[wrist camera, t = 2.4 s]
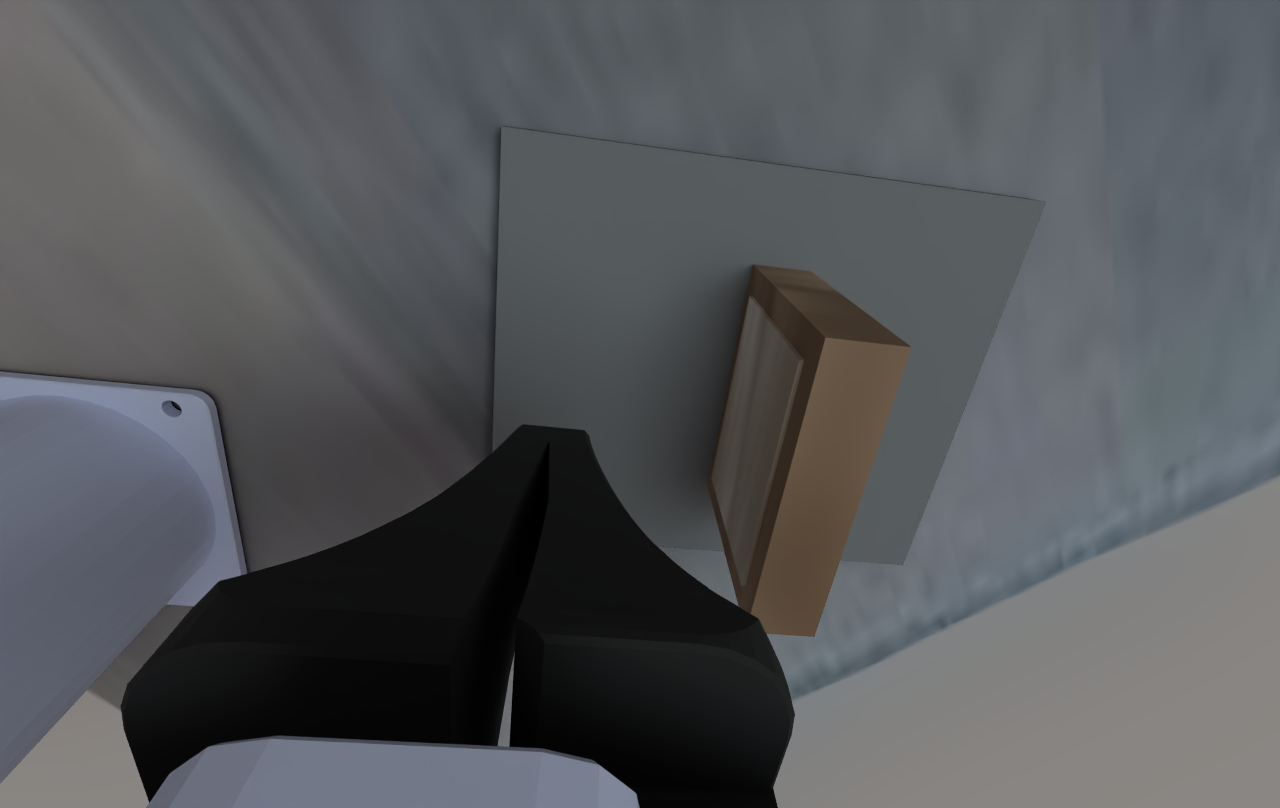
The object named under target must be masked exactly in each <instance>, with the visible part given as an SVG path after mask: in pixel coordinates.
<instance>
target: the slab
mask: <svg viewBox="0 0 1280 808" xmlns="http://www.w3.org/2000/svg"><path fill="white" fill-rule="evenodd" d="M911 349H912V347H911V346H910V345H908V344H907V343H906V342H904V341H903V340H902V339H900V338H899V337H898V336H896V335H895V334H894V333H892V332H891V331H890V330H888V329H887V328H886V327H884V326H883V325H882V324H880V323H879V322H878V321H876V320H875V319H874V318H872V317H871V316H870V315H868V314H867V313H866V312H864V311H863V310H862V309H860V308H859V307H858V306H856V305H855V304H854V303H852V302H851V301H850V300H848V299H847V298H846V297H844V296H843V295H842V294H840V293H839V292H838V291H836V290H835V289H834V288H833V287H831V286H830V285H829V284H827V283H826V282H825V281H823V280H822V279H821V278H819V277H818V276H817V275H815V274H814V273H813V272H811V271H804V270H796V269H788V268H780V267H771V266H763V265H755V264H753V267H752V272H751V277H750V282H749V287H748V291H747V296H746V301H745V306H744V311H743V316H742V320H741V325H740V330H739V335H738V340H737V345H736V349H735V354H734V359H733V364H732V369H731V374H730V378H729V383H728V388H727V393H726V398H725V403H724V407H723V412H722V417H721V422H720V427H719V432H718V436H717V441H716V446H715V451H714V456H713V461H712V466H711V470H710V475H709V480H708V485H707V486H708V490H709V494H710V498H711V502H712V506H713V509H714V513H715V517H716V521H717V525H718V528H719V532H720V536H721V540H722V544H723V548H724V551H725V555H726V559H727V563H728V567H729V571H730V574H731V578H732V582H733V586H734V590H735V594H736V597H737V601H738V605H739V607H740V608H742V609H743V610H745V611H747V612H748V613H750V614H752V615H753V616H755V617H757V618H758V619H759V620H760V622H761V624H762V626H763V628H764V630H765V632H766V634H780V635H796V636H811V637H814V636H815V633H816V630H817V627H818V624H819V621H820V618H821V615H822V612H823V609H824V606H825V603H826V600H827V597H828V594H829V592H830V589H831V586H832V583H833V580H834V577H835V574H836V571H837V568H838V565H839V562H840V559H841V556H842V553H843V550H844V547H845V544H846V541H847V538H848V535H849V532H850V529H851V526H852V523H853V520H854V517H855V514H856V512H857V509H858V506H859V503H860V500H861V497H862V494H863V491H864V488H865V485H866V482H867V479H868V476H869V473H870V470H871V467H872V464H873V461H874V458H875V455H876V452H877V449H878V446H879V443H880V440H881V437H882V434H883V432H884V429H885V426H886V423H887V420H888V417H889V414H890V411H891V408H892V405H893V402H894V399H895V396H896V393H897V390H898V387H899V384H900V381H901V378H902V375H903V372H904V369H905V366H906V363H907V360H908V357H909V354H910V352H911Z"/></svg>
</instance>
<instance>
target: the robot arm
mask: <svg viewBox="0 0 1280 808" xmlns="http://www.w3.org/2000/svg"><path fill="white" fill-rule="evenodd" d="M171 401H173V402H176V403H177V404H178V405H179V406H180V408H181V410H182V411H180V410H177V409H176V408H175V407H173V405H172V403H171ZM165 605H182V606H194V607H193V608H192V609H191V610H190V611H189V613H188V614H187V615H186V616H185V617H184V618H183V620H182V621H181V622H180V623H179V624H178V626H177V627H176V628H175V629H174V630H173V632H172V633H171V634H170V635H169V636H168V637H167V639H166V640H165V641H164V642H163V643H162V644H161V646H160V647H159V648H158V649H157V650H156V651H155V653H154V654H153V655H152V656H151V657H150V658H149V660H148V661H147V662H146V663H145V664H144V665H143V667H142V668H141V669H140V670H139V671H138V672H137V674H136V675H135V676H134V677H133V678H132V680H131V681H130V682H129V683H128V684H127V687H126V691H125V694H124V697H123V700H122V704H121V712H122V719H123V726H124V731H125V734H126V737H127V740H128V743H129V746H130V748H131V751H132V754H133V757H134V760H135V763H136V766H137V769H138V771H139V774H140V777H141V780H142V783H143V786H144V788H145V791H146V794H147V797H148V800H149V804H148V806H147V807H146V808H778V807H777V803H776V799H775V794H774V790H773V786H774V783H775V781H776V777H777V775H778V772H779V769H780V766H781V763H782V760H783V758H784V755H785V752H786V749H787V746H788V743H789V740H790V737H791V735H792V729H793V722H794V716H795V713H794V709H793V706H792V701H791V696H790V692H789V688H788V685H787V682H786V679H785V676H784V673H783V670H782V667H781V665H780V663H779V661H778V658H777V656H776V654H775V652H774V649H773V647H772V645H771V643H770V641H769V639H768V637H767V634H766V632H765V630H764V628H763V626H762V624H761V622H760V620H759V619H758V618H757V617H755V616H753V615H752V614H750V613H748V612H747V611H745V610H743V609H742V608H740V607H738V606H737V605H735V604H733V603H732V602H730V601H728V600H726V599H725V598H723V597H721V596H720V595H718V594H716V593H715V592H713V591H712V590H710V589H709V588H708V587H706V586H705V585H703V584H702V583H701V582H699V581H698V580H697V579H695V578H694V577H692V576H691V575H690V574H688V573H687V572H686V571H685V570H683V569H682V568H681V567H680V566H678V565H677V564H676V563H675V562H674V561H672V560H671V559H670V558H669V557H668V556H667V555H666V554H665V553H664V552H663V551H662V550H660V549H659V548H658V547H657V546H656V545H655V544H654V543H653V542H652V541H651V540H650V539H649V538H648V537H647V536H646V534H645V533H644V532H643V531H642V530H641V528H640V527H639V526H638V525H637V524H636V522H635V521H634V520H633V519H632V517H631V516H630V515H629V513H628V512H627V510H626V509H625V508H624V506H623V505H622V503H621V502H620V500H619V499H618V497H617V496H616V494H615V492H614V491H613V489H612V487H611V486H610V484H609V482H608V480H607V478H606V476H605V475H604V473H603V471H602V469H601V467H600V465H599V463H598V460H597V458H596V456H595V453H594V451H593V448H592V445H591V441H590V436H589V435H588V433H587V432H586V431H585V430H579V429H568V428H558V427H548V426H537V425H527V424H522V425H521V426H520V427H518V428H517V429H516V430H515V431H514V432H513V433H512V434H511V435H510V436H509V437H508V438H507V439H506V440H505V441H504V442H503V443H502V444H501V445H500V446H499V447H498V448H497V449H495V450H494V451H493V452H492V453H491V454H490V455H489V456H488V457H487V458H485V459H484V460H483V461H482V462H481V463H480V464H479V465H477V466H476V467H475V468H474V469H473V470H471V471H470V472H469V473H468V474H466V475H465V476H464V477H462V478H461V479H460V480H459V481H457V482H456V483H455V484H453V485H452V486H451V487H449V488H448V489H447V490H445V491H444V492H442V493H441V494H439V495H438V496H436V497H435V498H433V499H432V500H430V501H428V502H427V503H425V504H423V505H421V506H420V507H418V508H416V509H415V510H413V511H411V512H409V513H407V514H406V515H404V516H402V517H400V518H397V519H395V520H393V521H391V522H389V523H387V524H385V525H383V526H381V527H379V528H376V529H374V530H372V531H370V532H368V533H366V534H364V535H362V536H359V537H357V538H354V539H352V540H349V541H347V542H344V543H342V544H339V545H337V546H334V547H332V548H329V549H326V550H323V551H320V552H317V553H315V554H312V555H309V556H306V557H303V558H300V559H297V560H294V561H290V562H287V563H283V564H280V565H276V566H273V567H269V568H266V569H262V570H258V571H255V572H251V573H248V574H247V569H246V564H245V558H244V553H243V548H242V542H241V537H240V532H239V526H238V521H237V516H236V510H235V505H234V500H233V494H232V489H231V484H230V478H229V473H228V468H227V462H226V457H225V452H224V446H223V441H222V436H221V430H220V425H219V420H218V414H217V409H216V406H215V403H214V401H213V400H212V399H211V398H210V396H209V395H207V394H205V393H204V392H201V391H198V390H192V389H181V388H171V387H160V386H149V385H139V384H128V383H117V382H107V381H96V380H86V379H75V378H64V377H54V376H43V375H33V374H22V373H11V372H1V371H0V783H1V782H2V781H3V780H4V779H5V778H6V777H7V776H8V775H9V774H10V772H11V771H12V770H13V769H14V768H15V767H16V766H17V765H18V764H19V763H20V762H21V761H22V759H23V758H24V757H25V756H26V755H27V754H28V753H29V752H30V751H31V750H32V749H33V747H35V745H36V744H37V743H38V742H39V741H40V740H41V739H42V738H43V736H45V734H46V733H47V732H48V731H49V730H50V729H51V728H52V727H53V726H54V725H55V724H56V723H57V722H58V721H59V719H60V718H61V717H62V716H63V715H64V714H65V713H66V712H67V711H68V710H69V709H70V707H71V706H72V705H73V704H74V703H75V702H76V701H77V700H78V699H79V698H80V697H81V696H82V695H83V694H84V692H85V691H86V690H87V689H88V688H89V687H90V686H91V685H92V684H93V683H94V682H95V681H96V679H97V678H98V677H99V676H100V675H101V674H102V673H103V672H104V671H105V670H106V669H107V668H108V666H109V665H110V664H111V663H112V662H113V661H114V660H115V659H116V658H117V657H118V656H119V655H120V653H121V652H122V651H123V650H124V649H125V648H126V647H127V646H128V645H129V644H130V643H131V642H132V641H133V639H134V638H135V637H136V636H137V635H138V634H139V633H140V632H141V631H142V630H143V629H144V628H145V626H146V625H147V624H148V623H149V622H150V621H151V620H152V619H153V618H154V617H155V616H156V615H157V613H158V612H159V611H160V610H161V609H162V608H163V607H164V606H165ZM514 652H515V656H514ZM513 657H514V674H513V693H512V711H511V729H510V747H500V746H498V740H499V733H500V727H501V721H502V716H503V710H504V704H505V698H506V692H507V686H508V680H509V675H510V670H511V665H512V661H513Z"/></svg>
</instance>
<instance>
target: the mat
mask: <svg viewBox="0 0 1280 808" xmlns="http://www.w3.org/2000/svg"><path fill="white" fill-rule="evenodd" d="M1045 204H1046V202H1044V201H1039V200H1033V199H1027V198H1020V197H1012V196H1005V195H998V194H991V193H983V192H976V191H969V190H962V189H955V188H947V187H940V186H933V185H926V184H919V183H911V182H904V181H897V180H890V179H882V178H875V177H868V176H861V175H854V174H846V173H839V172H832V171H825V170H818V169H810V168H803V167H796V166H789V165H781V164H774V163H767V162H760V161H753V160H745V159H738V158H731V157H724V156H716V155H709V154H702V153H695V152H688V151H680V150H673V149H666V148H659V147H652V146H644V145H637V144H630V143H623V142H615V141H608V140H601V139H594V138H587V137H579V136H572V135H565V134H558V133H550V132H543V131H536V130H529V129H522V128H514V127H507V126H501V159H500V195H499V230H498V266H497V301H496V337H495V372H494V408H493V444H492V452H493V451H494V450H495V449H497V448H498V447H499V446H500V445H501V444H502V443H503V442H504V441H505V440H506V439H507V438H508V437H509V436H510V435H511V434H512V433H513V432H514V431H515V430H516V429H517V428H518V427H520V426H521V425H522V424H527V425H537V426H548V427H558V428H568V429H579V430H585V431H586V432H587V433H588V435H589V436H590V441H591V445H592V448H593V451H594V453H595V456H596V458H597V460H598V463H599V465H600V467H601V469H602V471H603V473H604V475H605V476H606V478H607V480H608V482H609V484H610V486H611V487H612V489H613V491H614V492H615V494H616V496H617V497H618V499H619V500H620V502H621V503H622V505H623V506H624V508H625V509H626V510H627V512H628V513H629V515H630V516H631V517H632V519H633V520H634V521H635V522H636V524H637V525H638V526H639V527H640V528H641V530H642V531H643V532H644V533H645V534H646V536H647V537H648V538H649V539H650V540H651V541H652V542H653V543H654V544H655V545H656V546H661V547H674V548H687V549H701V550H714V551H724V548H723V544H722V540H721V536H720V532H719V528H718V525H717V521H716V517H715V513H714V509H713V506H712V502H711V498H710V494H709V490H708V486H707V485H708V480H709V475H710V470H711V466H712V461H713V456H714V451H715V446H716V441H717V436H718V432H719V427H720V422H721V417H722V412H723V407H724V403H725V398H726V393H727V388H728V383H729V378H730V374H731V369H732V364H733V359H734V354H735V349H736V345H737V340H738V335H739V330H740V325H741V320H742V316H743V311H744V306H745V301H746V296H747V291H748V287H749V282H750V277H751V272H752V267H753V264H755V265H763V266H771V267H780V268H788V269H796V270H804V271H811V272H813V273H814V274H815V275H817V276H818V277H819V278H821V279H822V280H823V281H825V282H826V283H827V284H829V285H830V286H831V287H833V288H834V289H835V290H836V291H838V292H839V293H840V294H842V295H843V296H844V297H846V298H847V299H848V300H850V301H851V302H852V303H854V304H855V305H856V306H858V307H859V308H860V309H862V310H863V311H864V312H866V313H867V314H868V315H870V316H871V317H872V318H874V319H875V320H876V321H878V322H879V323H880V324H882V325H883V326H884V327H886V328H887V329H888V330H890V331H891V332H892V333H894V334H895V335H896V336H898V337H899V338H900V339H902V340H903V341H904V342H906V343H907V344H908V345H910V346H911V347H912V349H911V352H910V354H909V357H908V360H907V363H906V366H905V369H904V372H903V375H902V378H901V381H900V384H899V387H898V390H897V393H896V396H895V399H894V402H893V405H892V408H891V411H890V414H889V417H888V420H887V423H886V426H885V429H884V432H883V434H882V437H881V440H880V443H879V446H878V449H877V452H876V455H875V458H874V461H873V464H872V467H871V470H870V473H869V476H868V479H867V482H866V485H865V488H864V491H863V494H862V497H861V500H860V503H859V506H858V509H857V512H856V514H855V517H854V520H853V523H852V526H851V529H850V532H849V535H848V538H847V541H846V544H845V547H844V550H843V553H842V556H841V559H840V560H844V561H857V562H870V563H883V564H896V565H903V563H904V561H905V558H906V556H907V553H908V551H909V548H910V546H911V543H912V541H913V538H914V536H915V533H916V531H917V528H918V525H919V523H920V520H921V518H922V515H923V513H924V510H925V508H926V505H927V503H928V500H929V498H930V495H931V492H932V490H933V487H934V485H935V482H936V480H937V477H938V475H939V472H940V470H941V467H942V465H943V462H944V460H945V457H946V454H947V452H948V449H949V447H950V444H951V442H952V439H953V437H954V434H955V432H956V429H957V427H958V424H959V422H960V419H961V416H962V414H963V411H964V409H965V406H966V404H967V401H968V399H969V396H970V394H971V391H972V389H973V386H974V384H975V381H976V378H977V376H978V373H979V371H980V368H981V366H982V363H983V361H984V358H985V356H986V353H987V351H988V348H989V345H990V343H991V340H992V338H993V335H994V333H995V330H996V328H997V325H998V323H999V320H1000V318H1001V315H1002V313H1003V310H1004V307H1005V305H1006V302H1007V300H1008V297H1009V295H1010V292H1011V290H1012V287H1013V285H1014V282H1015V280H1016V277H1017V275H1018V272H1019V269H1020V267H1021V264H1022V262H1023V259H1024V257H1025V254H1026V252H1027V249H1028V247H1029V244H1030V242H1031V239H1032V236H1033V234H1034V231H1035V229H1036V226H1037V224H1038V221H1039V219H1040V216H1041V214H1042V211H1043V209H1044V206H1045Z"/></svg>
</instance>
